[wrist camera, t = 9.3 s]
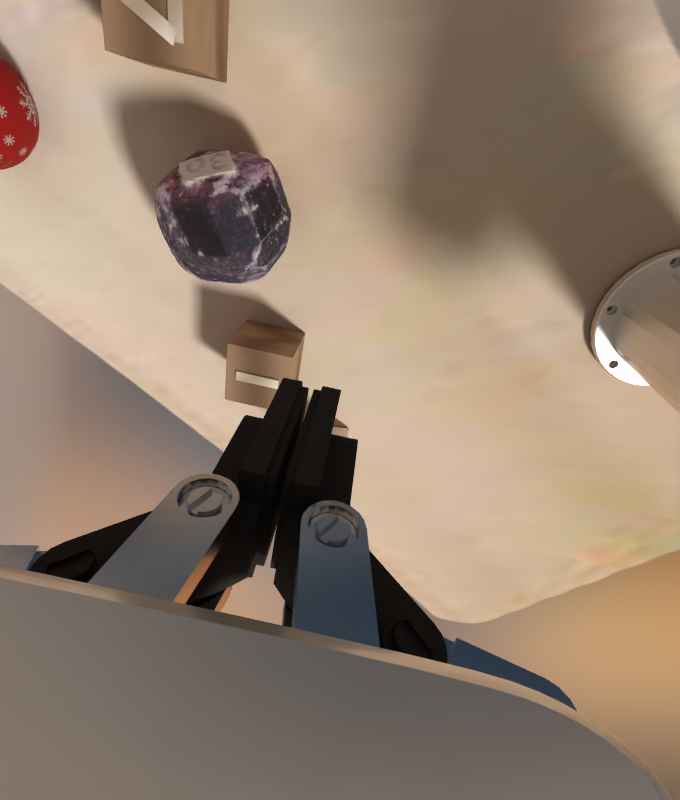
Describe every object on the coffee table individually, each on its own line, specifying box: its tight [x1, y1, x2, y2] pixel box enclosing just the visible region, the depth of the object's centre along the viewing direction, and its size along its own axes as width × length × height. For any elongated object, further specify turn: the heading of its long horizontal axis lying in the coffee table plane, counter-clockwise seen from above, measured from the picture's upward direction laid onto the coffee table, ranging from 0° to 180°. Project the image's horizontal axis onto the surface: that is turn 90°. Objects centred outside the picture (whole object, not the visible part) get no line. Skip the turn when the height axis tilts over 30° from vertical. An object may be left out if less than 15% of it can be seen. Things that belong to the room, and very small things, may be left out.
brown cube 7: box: [101, 0, 229, 83], centre depth 28 cm, size 6×6×6 cm
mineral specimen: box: [155, 150, 291, 284], centre depth 33 cm, size 10×10×10 cm
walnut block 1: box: [225, 320, 305, 409], centre depth 41 cm, size 6×6×6 cm
